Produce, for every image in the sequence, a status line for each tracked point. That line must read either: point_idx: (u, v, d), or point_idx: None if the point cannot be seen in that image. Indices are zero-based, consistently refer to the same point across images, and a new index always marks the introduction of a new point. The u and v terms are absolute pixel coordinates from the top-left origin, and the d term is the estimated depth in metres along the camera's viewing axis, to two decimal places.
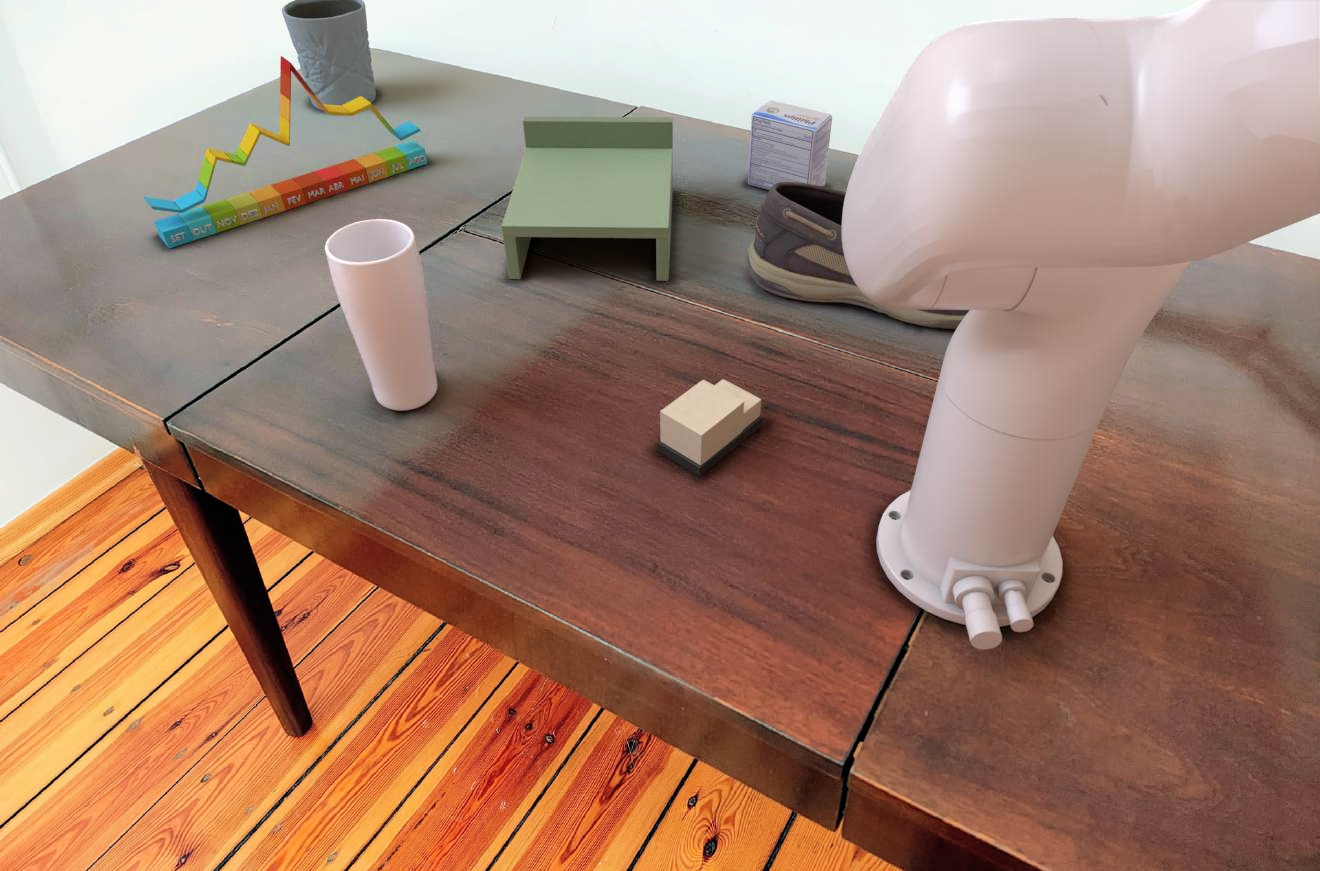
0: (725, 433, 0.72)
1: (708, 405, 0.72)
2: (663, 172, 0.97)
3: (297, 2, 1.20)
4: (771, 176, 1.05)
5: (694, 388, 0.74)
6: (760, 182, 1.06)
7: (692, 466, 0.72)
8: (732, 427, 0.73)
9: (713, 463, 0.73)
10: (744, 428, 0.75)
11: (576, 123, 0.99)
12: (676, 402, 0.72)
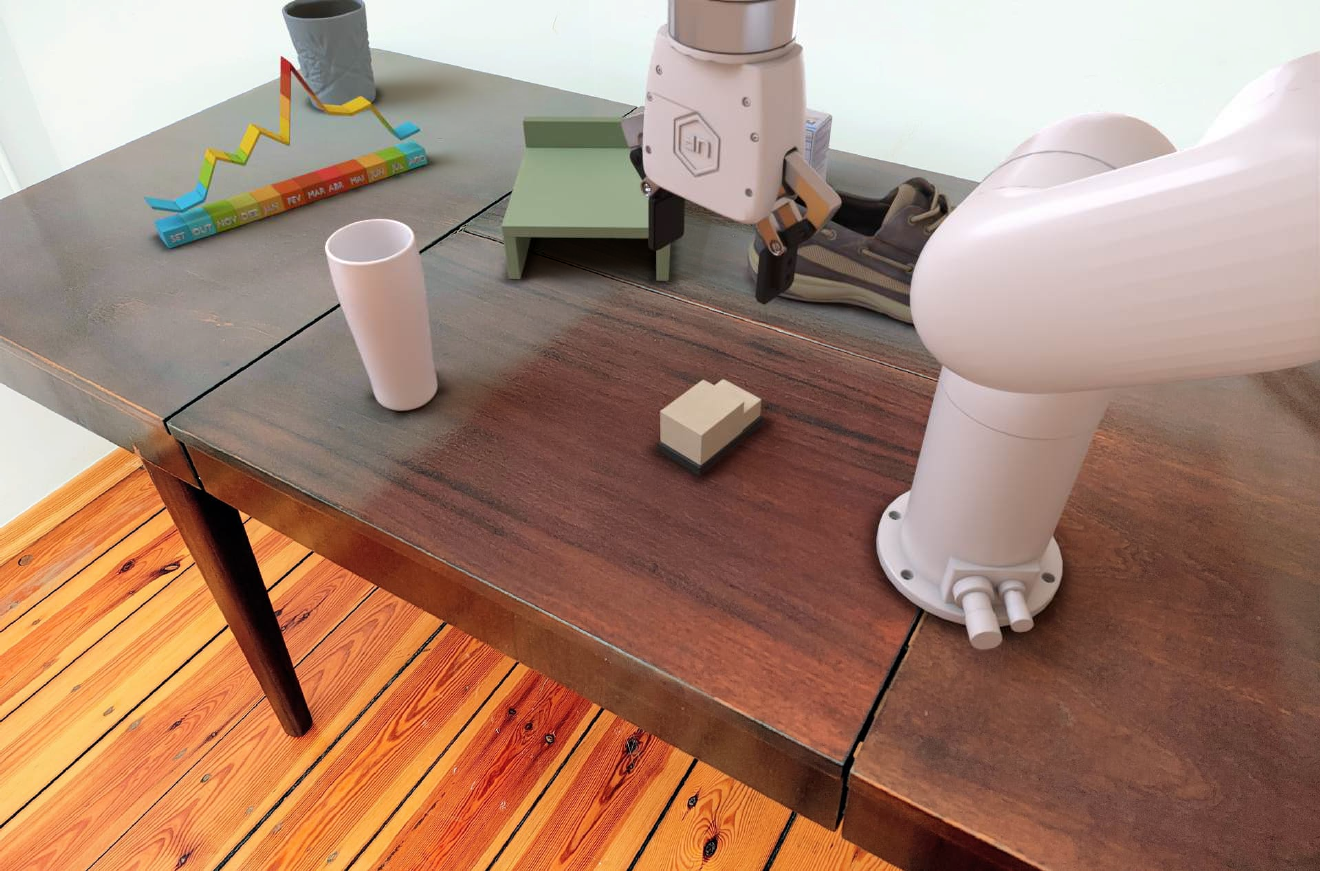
0: (725, 433, 0.72)
1: (708, 405, 0.72)
2: None
3: (297, 2, 1.20)
4: None
5: (694, 388, 0.74)
6: None
7: (692, 466, 0.72)
8: (732, 427, 0.73)
9: (713, 463, 0.73)
10: (744, 428, 0.75)
11: (576, 123, 0.99)
12: (676, 402, 0.72)
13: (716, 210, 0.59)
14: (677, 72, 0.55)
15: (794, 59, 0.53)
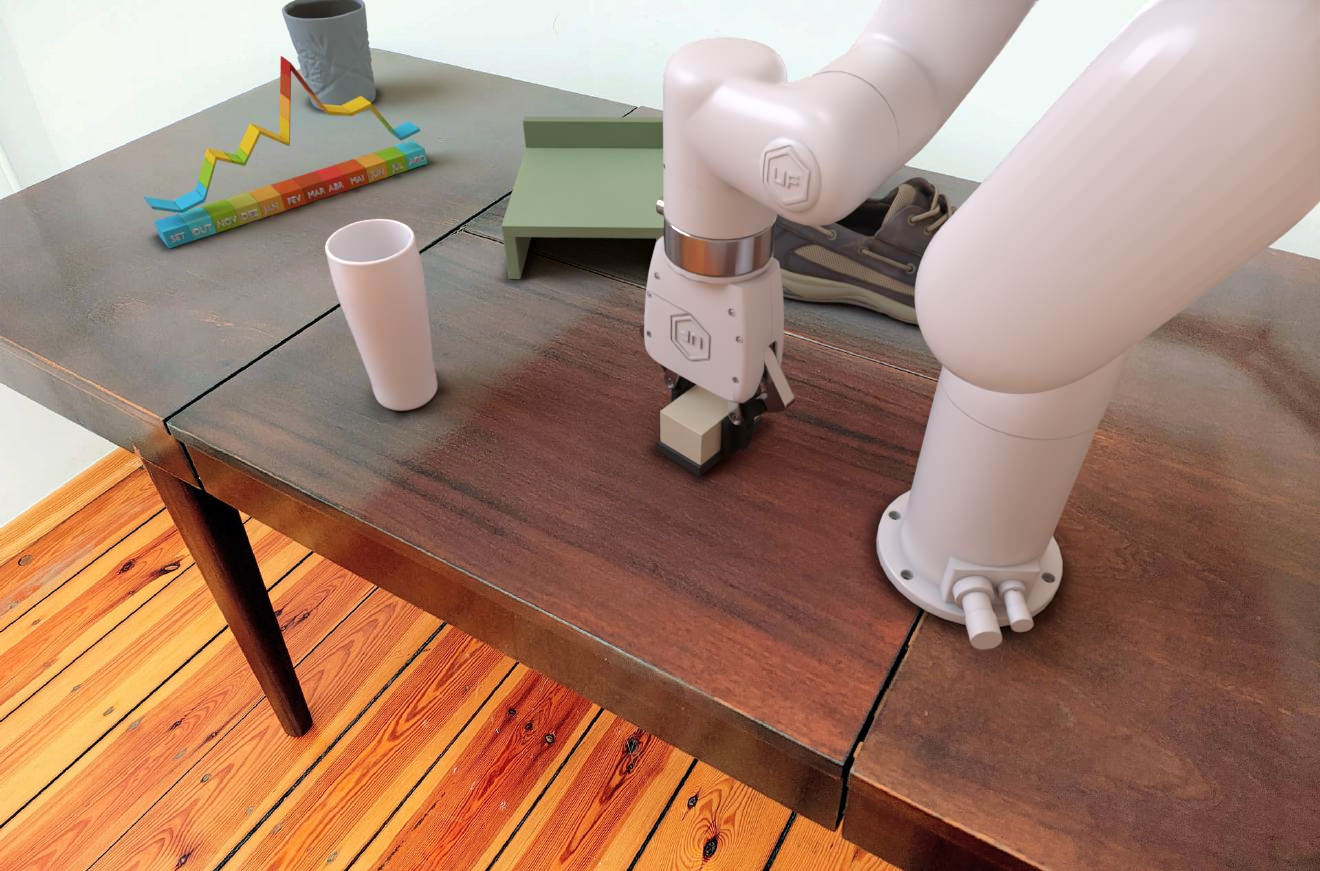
0: None
1: (708, 405, 0.72)
2: None
3: (297, 2, 1.20)
4: None
5: (694, 388, 0.74)
6: None
7: (692, 466, 0.72)
8: None
9: (713, 463, 0.73)
10: None
11: (576, 123, 0.99)
12: (676, 402, 0.72)
13: (708, 389, 0.68)
14: (672, 281, 0.64)
15: (772, 276, 0.62)
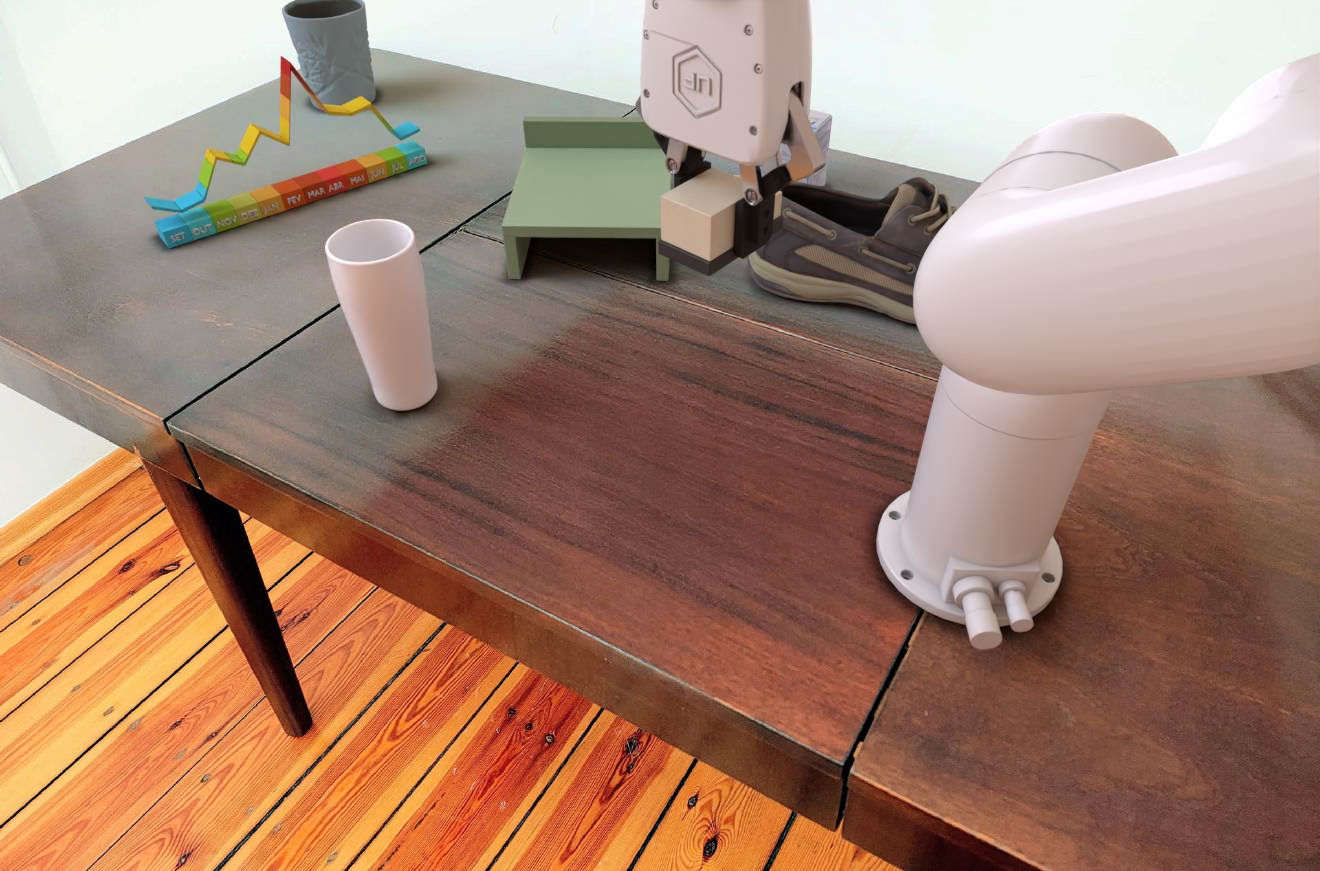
0: None
1: (718, 190, 0.60)
2: (663, 172, 0.97)
3: (297, 2, 1.20)
4: None
5: (701, 175, 0.61)
6: None
7: (699, 264, 0.60)
8: None
9: (725, 263, 0.61)
10: None
11: (576, 123, 0.99)
12: (680, 187, 0.60)
13: (719, 153, 0.55)
14: (674, 4, 0.52)
15: None
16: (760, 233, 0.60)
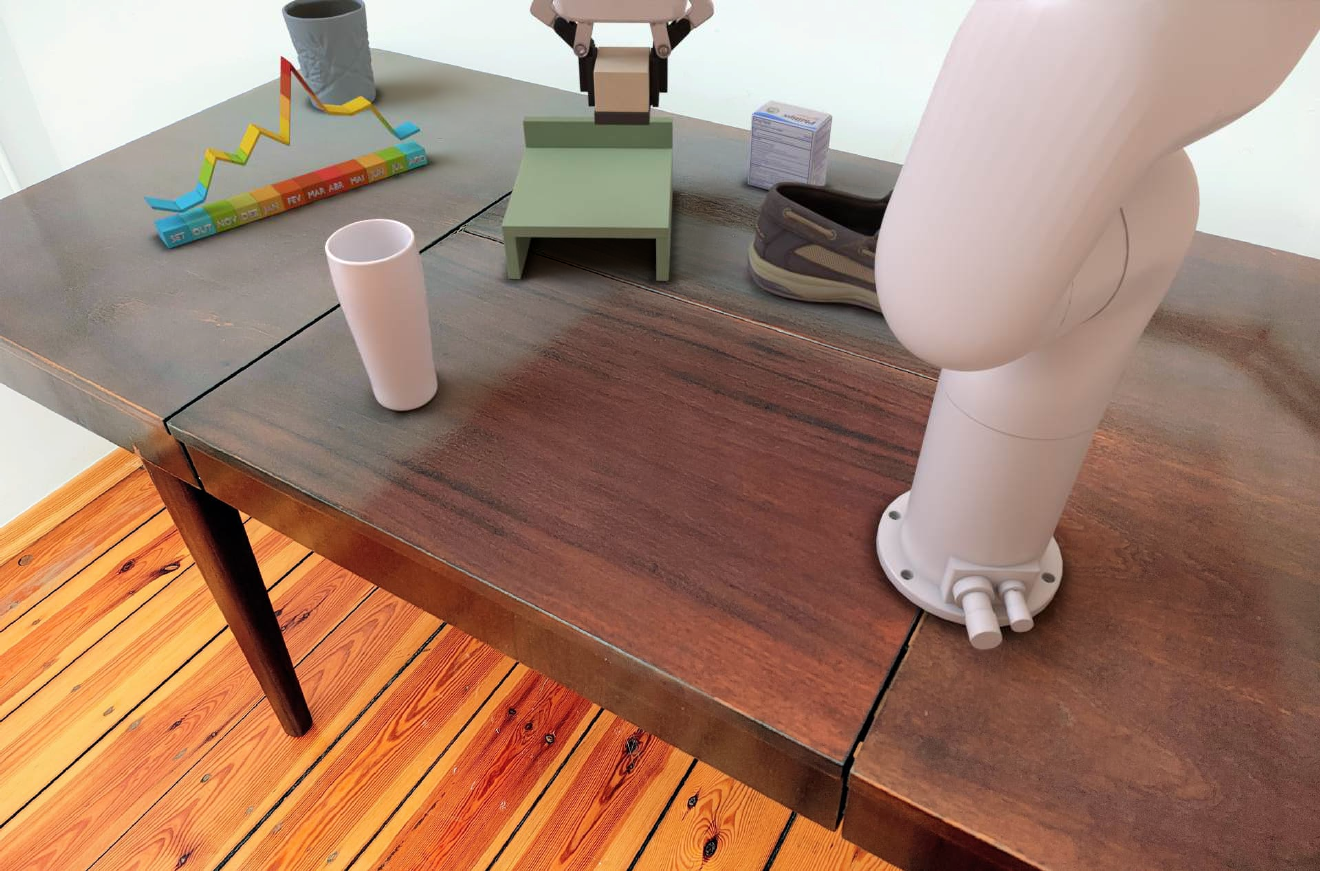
0: (649, 80, 0.75)
1: (626, 57, 0.74)
2: (663, 172, 0.97)
3: (297, 2, 1.20)
4: (771, 176, 1.05)
5: (600, 52, 0.75)
6: (760, 182, 1.06)
7: (639, 117, 0.74)
8: None
9: None
10: None
11: (576, 123, 0.99)
12: (598, 63, 0.73)
13: (644, 18, 0.70)
14: None
15: None
16: (667, 82, 0.76)
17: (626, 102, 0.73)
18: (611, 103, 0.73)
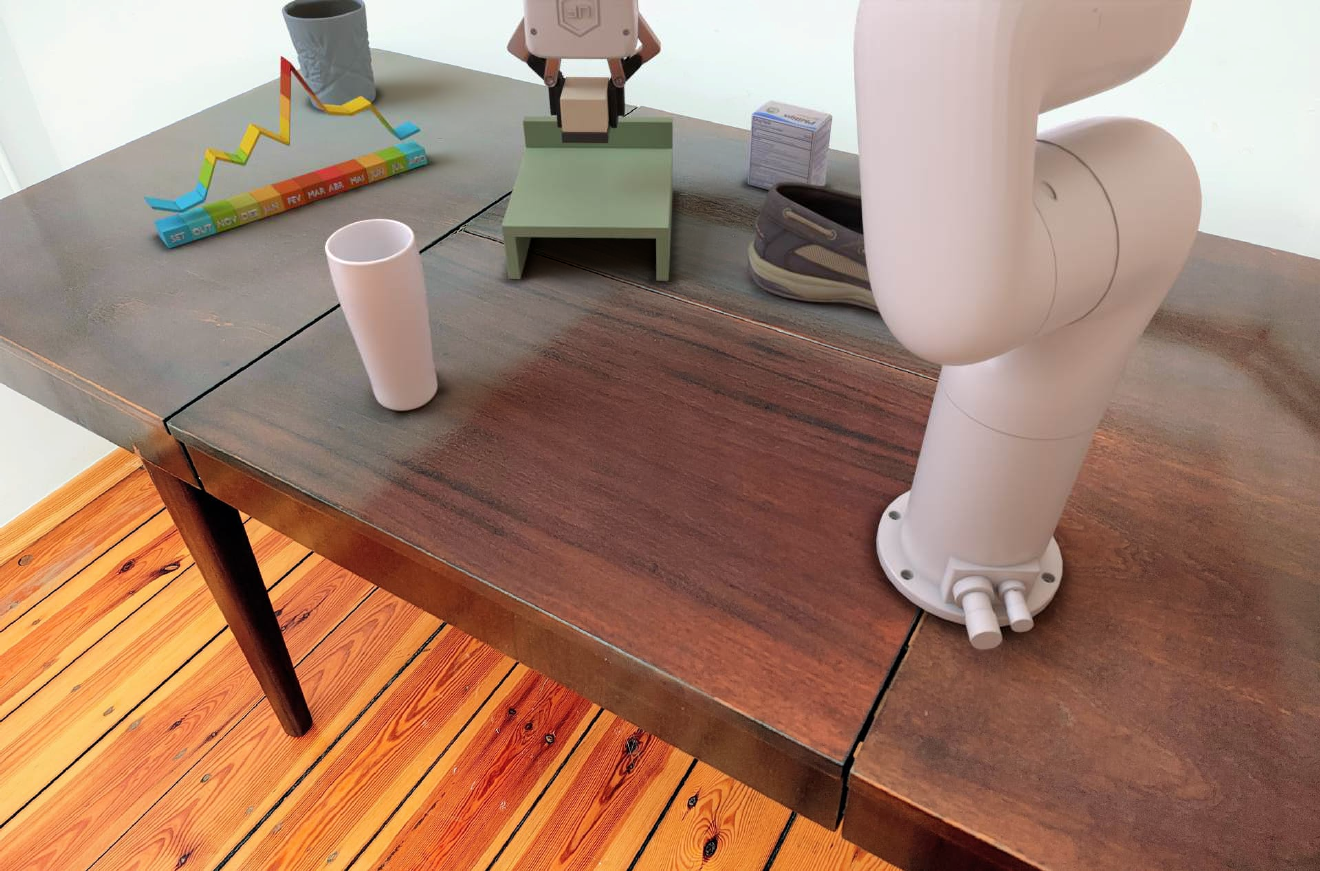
0: (608, 105, 0.89)
1: (588, 86, 0.88)
2: (663, 172, 0.97)
3: (297, 2, 1.20)
4: (771, 176, 1.05)
5: (566, 82, 0.89)
6: (760, 182, 1.06)
7: (599, 136, 0.88)
8: None
9: (609, 133, 0.89)
10: None
11: None
12: (564, 91, 0.87)
13: (601, 55, 0.84)
14: None
15: None
16: (624, 107, 0.90)
17: (588, 124, 0.87)
18: (575, 125, 0.88)
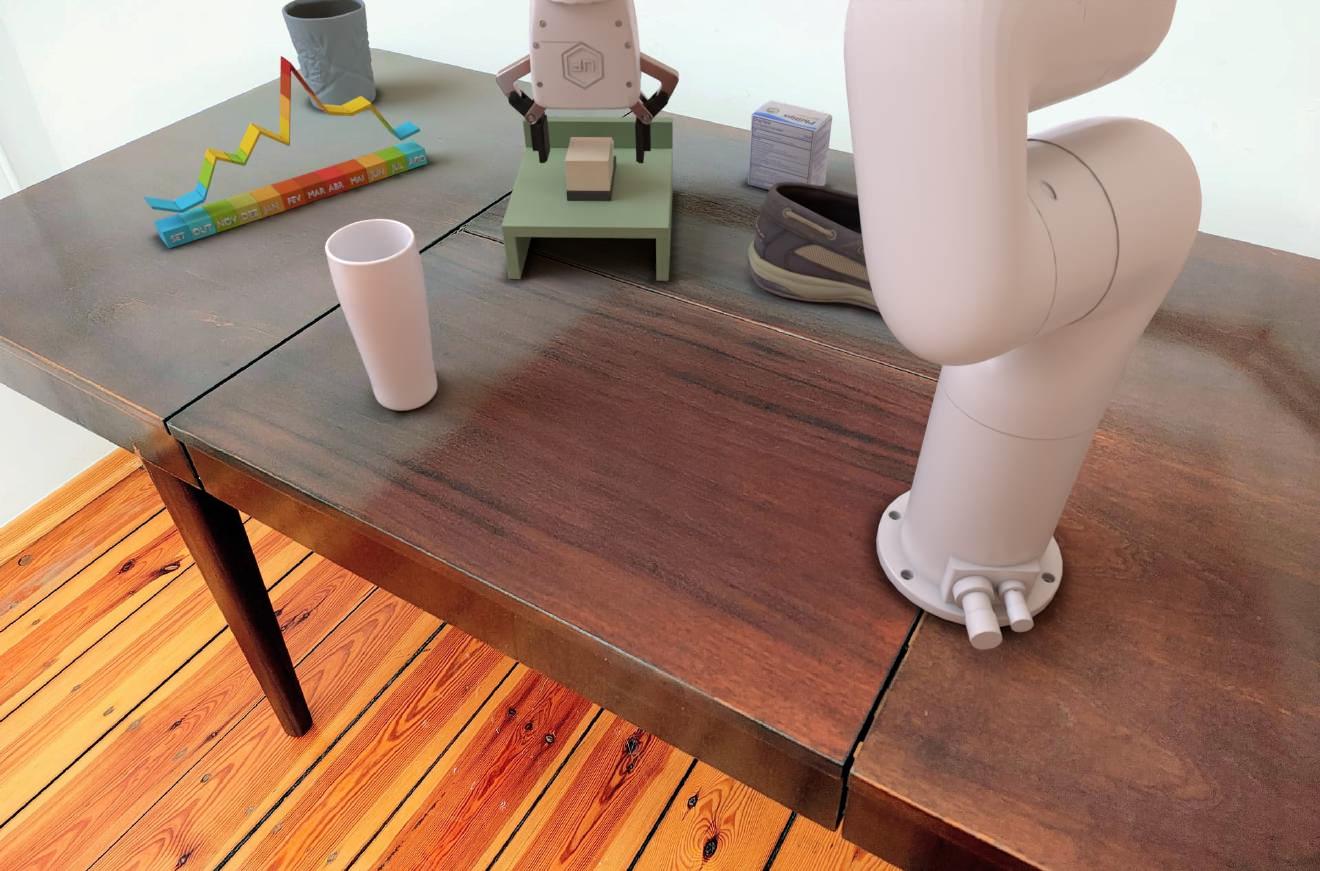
0: (611, 164, 0.93)
1: (592, 147, 0.92)
2: (663, 172, 0.97)
3: (297, 2, 1.20)
4: (771, 176, 1.05)
5: (571, 142, 0.93)
6: (760, 182, 1.06)
7: (603, 195, 0.92)
8: None
9: (612, 190, 0.94)
10: (612, 164, 0.96)
11: (576, 123, 0.99)
12: (569, 153, 0.91)
13: (605, 106, 0.87)
14: (560, 20, 0.82)
15: None
16: (650, 142, 0.92)
17: (592, 183, 0.91)
18: (580, 184, 0.92)
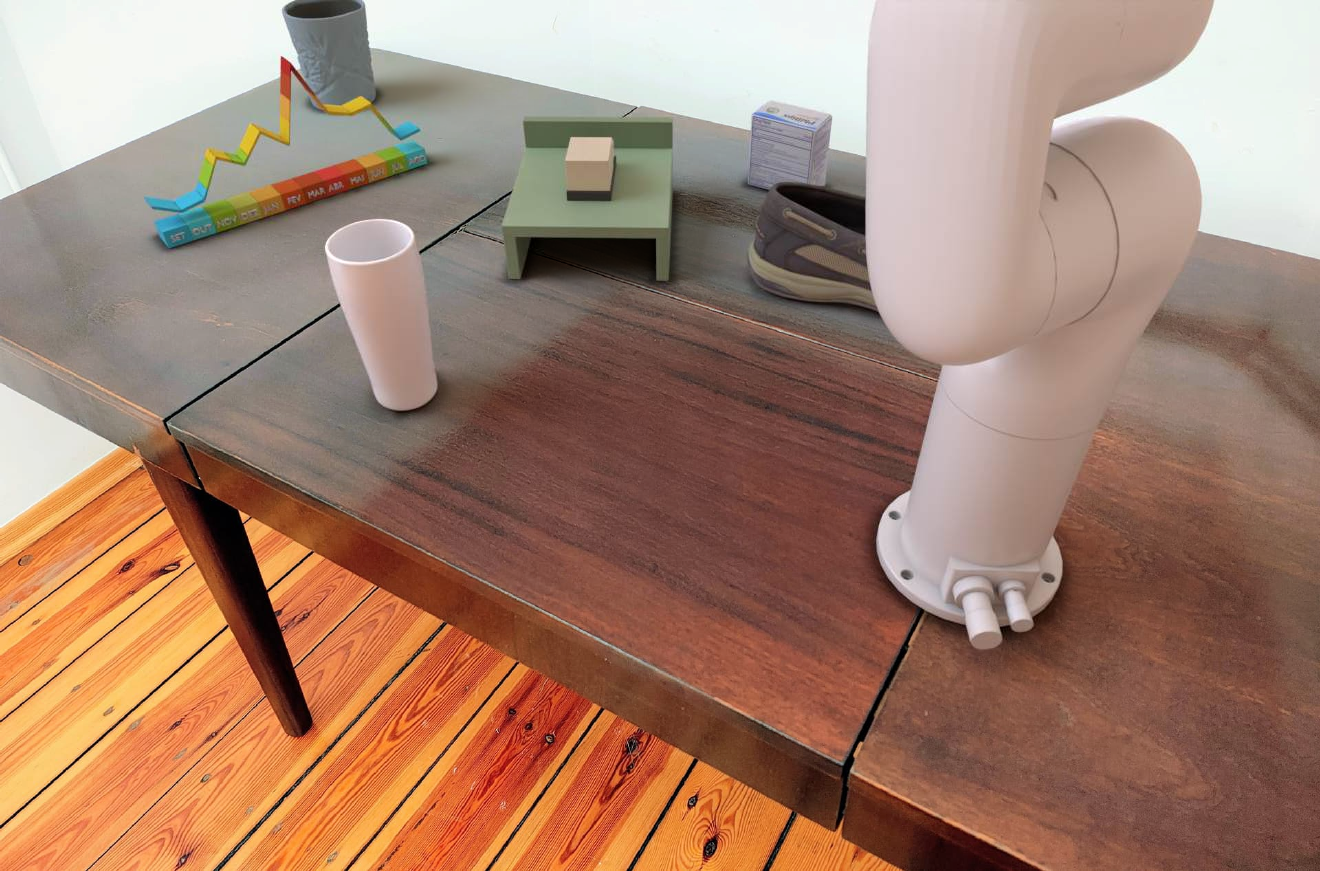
0: (611, 164, 0.93)
1: (592, 147, 0.92)
2: (663, 172, 0.97)
3: (297, 2, 1.20)
4: (771, 176, 1.05)
5: (571, 142, 0.93)
6: (760, 182, 1.06)
7: (603, 195, 0.92)
8: None
9: (612, 190, 0.94)
10: (612, 164, 0.96)
11: (576, 123, 0.99)
12: (569, 153, 0.91)
13: None
14: None
15: None
16: None
17: (592, 183, 0.91)
18: (580, 184, 0.92)
